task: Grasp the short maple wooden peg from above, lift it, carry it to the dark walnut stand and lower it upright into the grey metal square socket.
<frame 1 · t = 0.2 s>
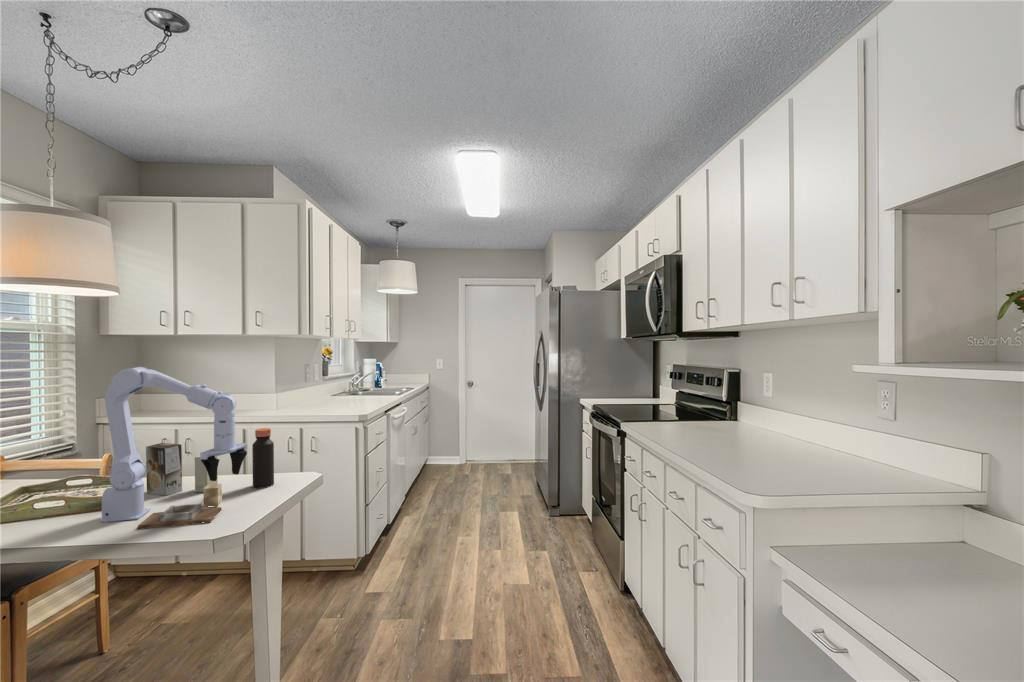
hand: (224, 477, 155), 9 cm above the table, tool pointing down, fingers open, 7 cm apart
peg: (212, 505, 157), on the table
coffee box: (164, 492, 170), on the table
bottle: (263, 486, 177), on the table
skincare box: (206, 490, 172), on the table
socket stand: (181, 519, 145), on the table
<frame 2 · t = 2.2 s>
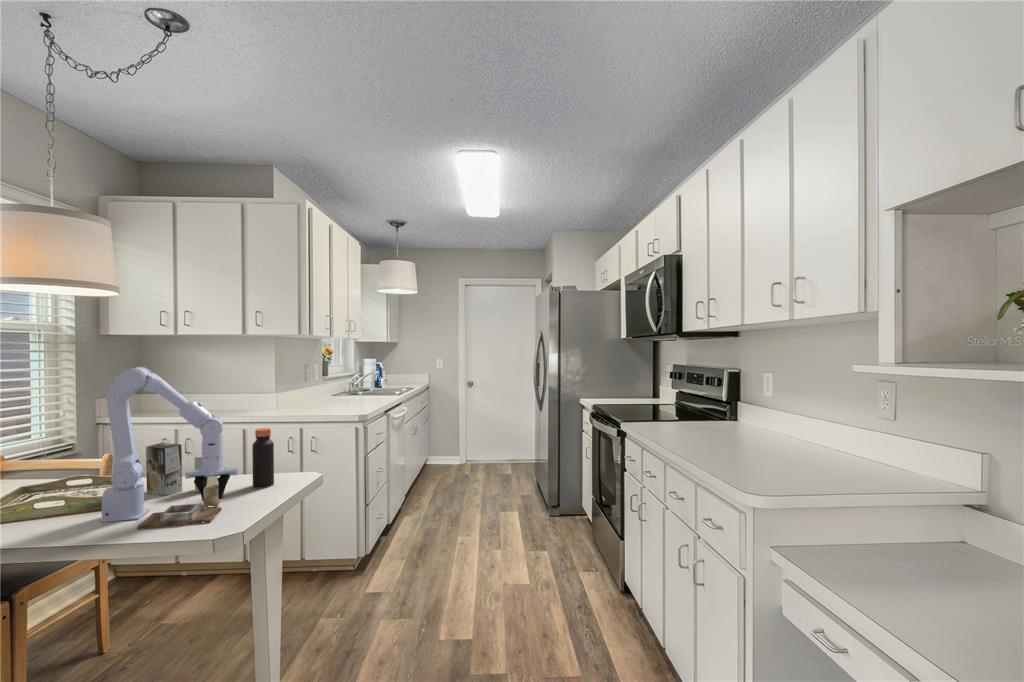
hand: (212, 499, 157), 2 cm above the table, tool pointing down, fingers closed on peg, 4 cm apart
peg: (212, 505, 157), on the table, touching gripper
everything else where it was.
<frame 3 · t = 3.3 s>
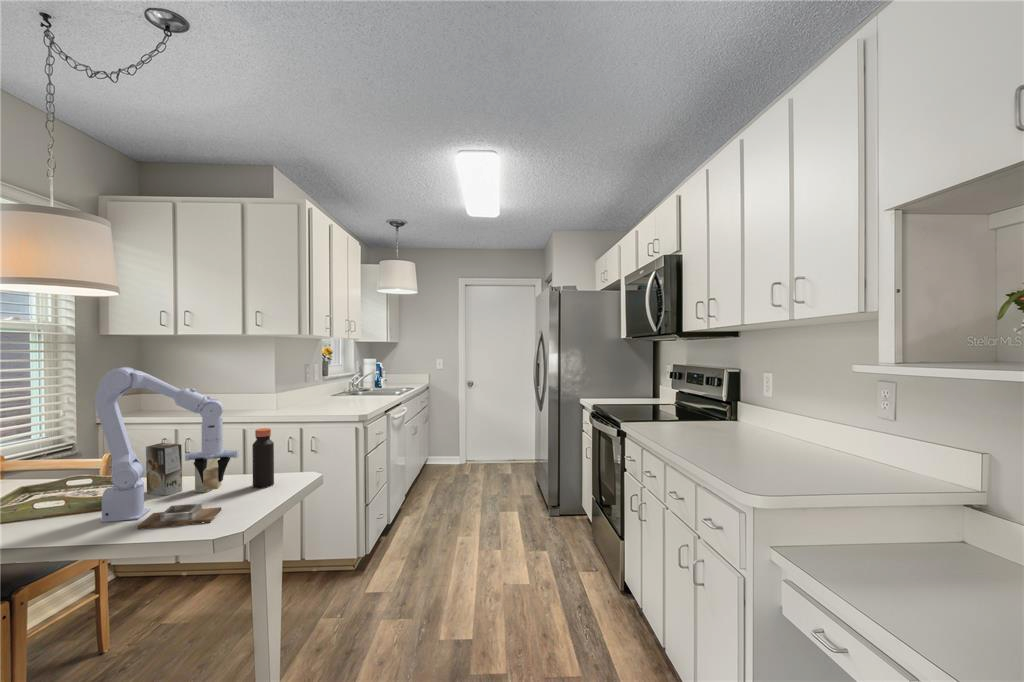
hand: (212, 481, 156), 7 cm above the table, tool pointing down, fingers closed on peg, 4 cm apart
peg: (212, 487, 156), point 6 cm above the table, touching gripper
everything else where it was.
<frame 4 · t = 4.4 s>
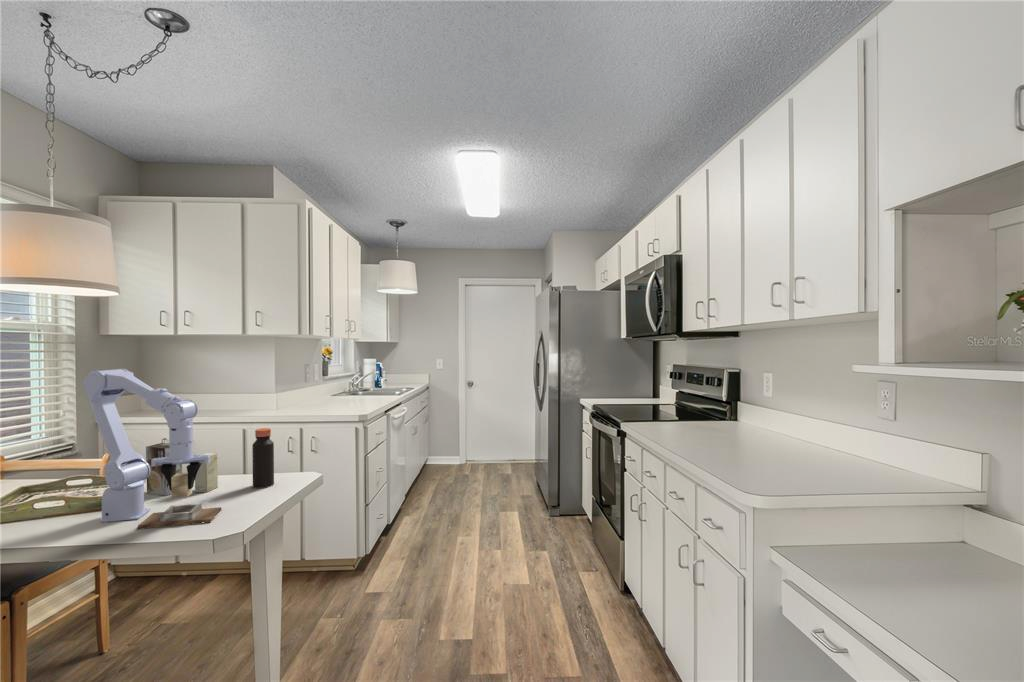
hand: (181, 488, 145), 9 cm above the table, tool pointing down, fingers closed on peg, 4 cm apart
peg: (182, 495, 145), point 7 cm above the table, touching gripper
everything else where it was.
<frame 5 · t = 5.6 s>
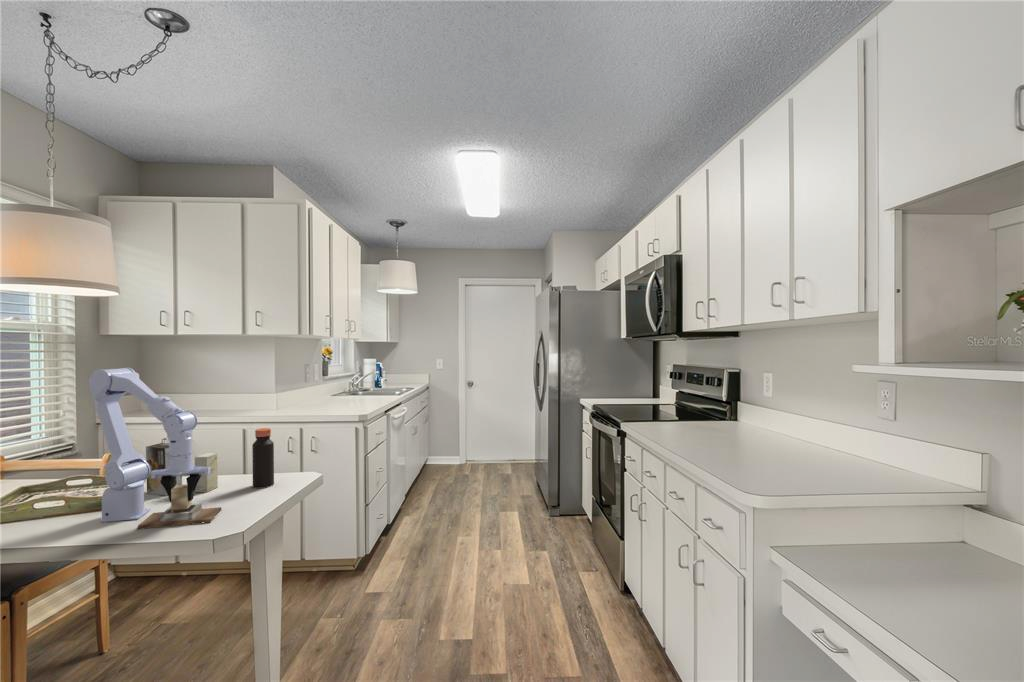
hand: (181, 500, 145), 5 cm above the table, tool pointing down, fingers closed on peg, 4 cm apart
peg: (181, 507, 145), point 4 cm above the table, touching gripper
everything else where it was.
when the fingers open (4 cm above the table, at t = 6.7 s): peg drops 1 cm, resting on socket stand.
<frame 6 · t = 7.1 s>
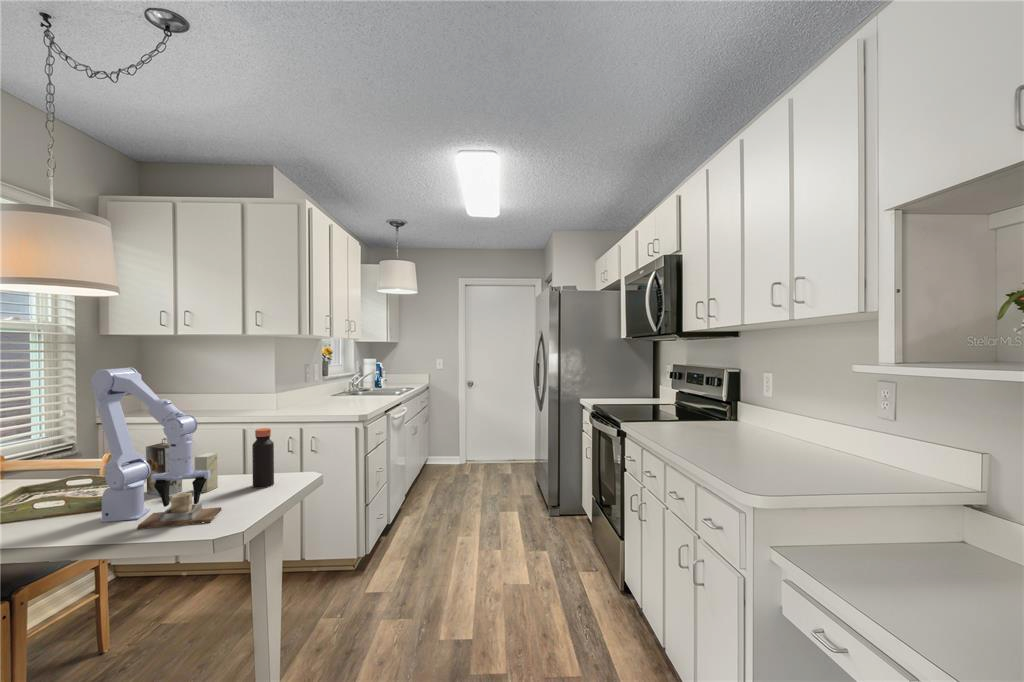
hand: (181, 504, 145), 4 cm above the table, tool pointing down, fingers open, 7 cm apart
peg: (181, 515, 145), point 1 cm above the table, touching socket stand
everything else where it was.
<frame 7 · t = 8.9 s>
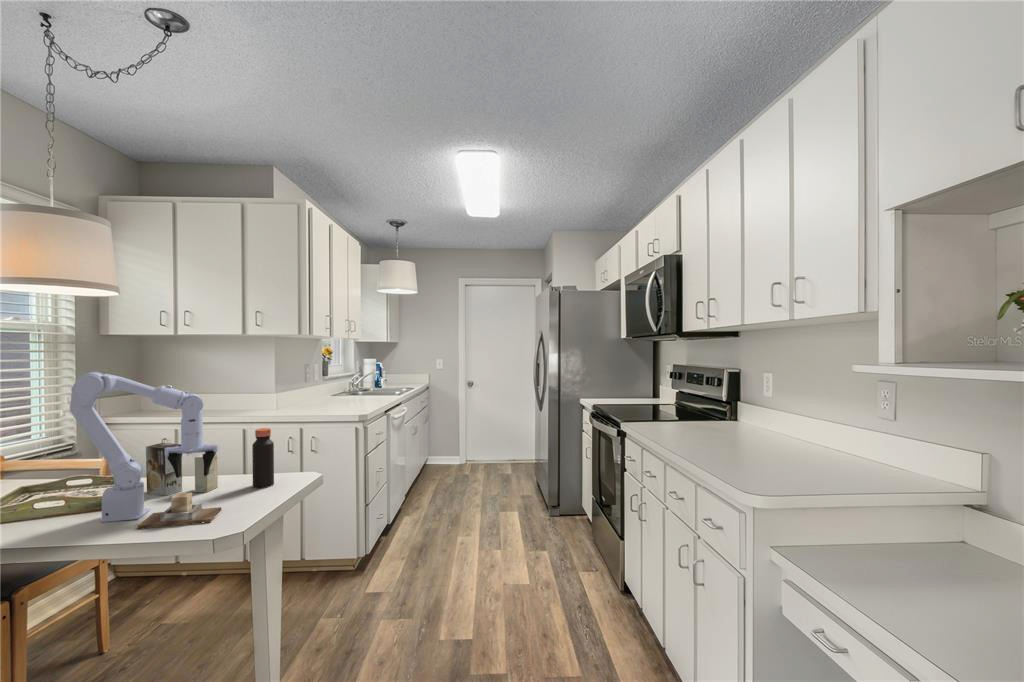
hand: (192, 475, 156), 9 cm above the table, tool pointing down, fingers open, 7 cm apart
nothing on the table moved.
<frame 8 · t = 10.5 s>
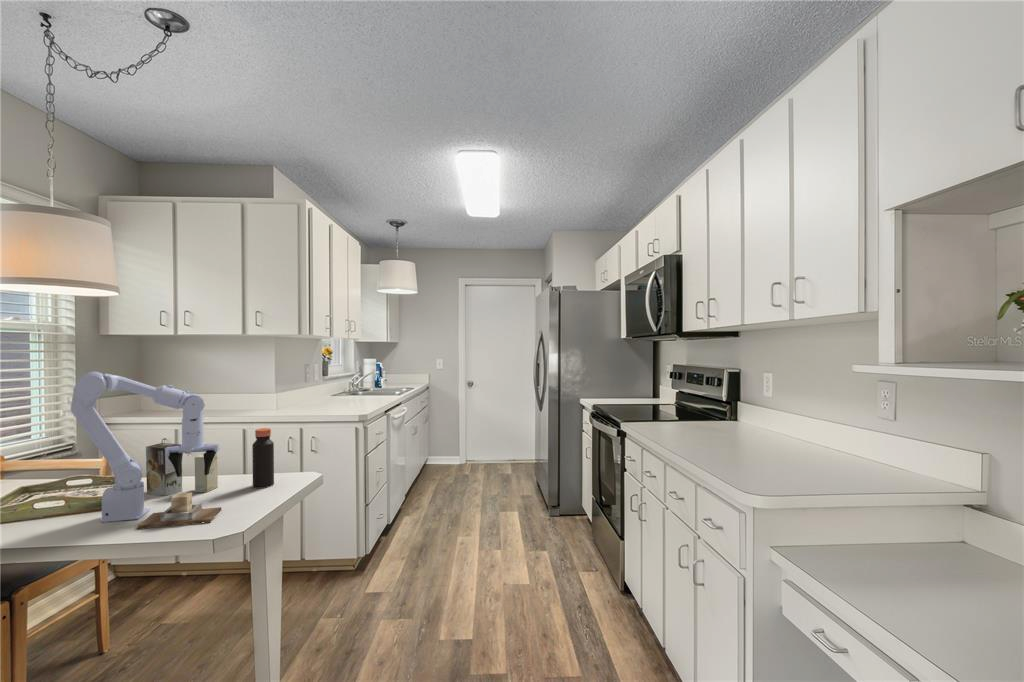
hand: (193, 475, 157), 9 cm above the table, tool pointing down, fingers open, 7 cm apart
nothing on the table moved.
at the end: peg 0.2 cm off-centre on the socket stand, point 1.0 cm above the socket stand's base; peg tilted 0°; the gripper is holding nothing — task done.
